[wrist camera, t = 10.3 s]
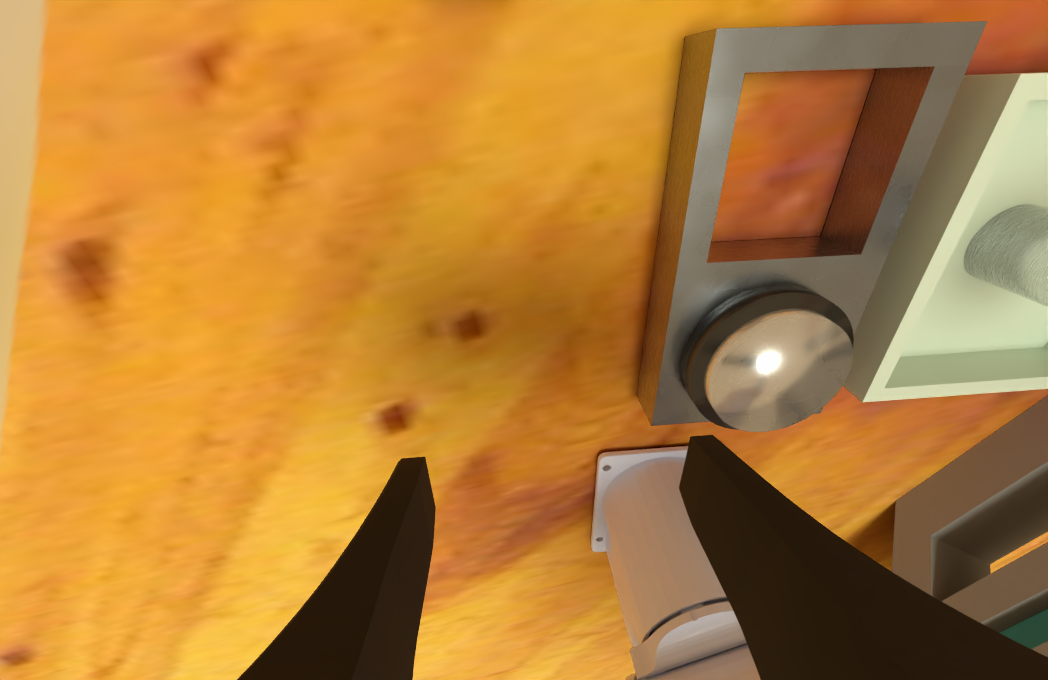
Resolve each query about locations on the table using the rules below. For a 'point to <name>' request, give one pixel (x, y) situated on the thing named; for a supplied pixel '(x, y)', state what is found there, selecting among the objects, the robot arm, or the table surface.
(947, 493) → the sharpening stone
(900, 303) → the tray
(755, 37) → the tensioner plate
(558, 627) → the table surface
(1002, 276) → the clear jar with lid
